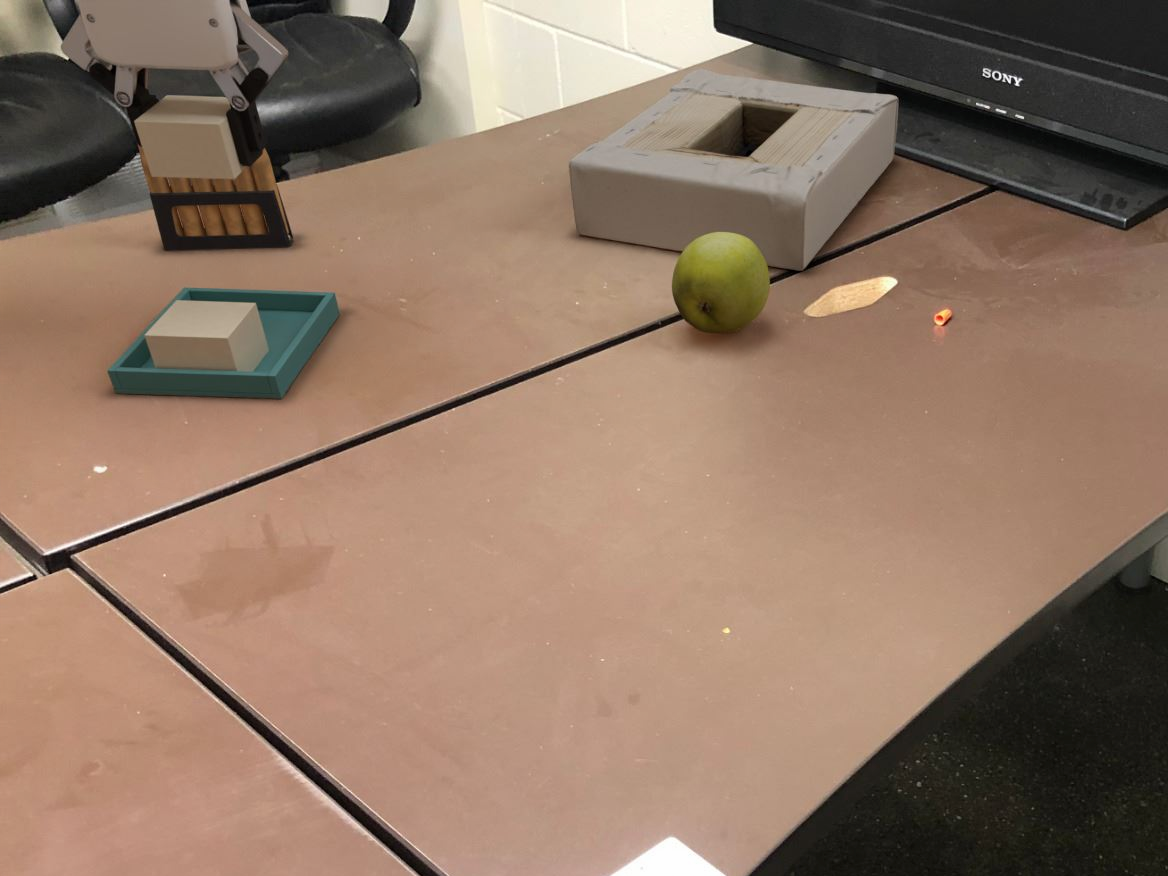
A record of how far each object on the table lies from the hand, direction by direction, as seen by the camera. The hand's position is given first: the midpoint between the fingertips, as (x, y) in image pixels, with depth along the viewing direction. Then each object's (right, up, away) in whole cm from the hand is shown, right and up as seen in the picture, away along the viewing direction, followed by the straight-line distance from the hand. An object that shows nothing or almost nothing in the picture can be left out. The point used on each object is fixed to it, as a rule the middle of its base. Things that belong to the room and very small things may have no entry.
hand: (206, 156), depth 100 cm
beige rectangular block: (0, 0, 0) cm, 1 cm away
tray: (-1, -13, +6) cm, 14 cm away
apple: (+37, -10, +13) cm, 40 cm away
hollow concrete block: (+36, +10, +36) cm, 52 cm away
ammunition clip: (-9, 0, +21) cm, 23 cm away
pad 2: (-1, -15, +3) cm, 15 cm away
